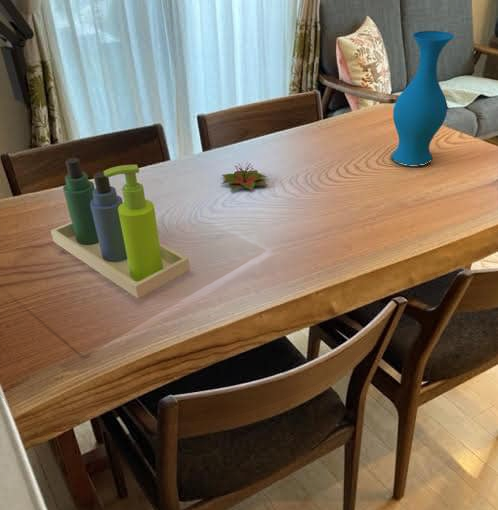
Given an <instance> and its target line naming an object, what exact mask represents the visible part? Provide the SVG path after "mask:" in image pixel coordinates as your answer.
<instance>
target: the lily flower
mask: <svg viewBox="0 0 498 510" xmlns="http://www.w3.org/2000/svg"><path fill="white" fill-rule="evenodd" d="M243 163H244V162H241V164H242V165H244V164H243ZM237 164H238V166H239V167H238V166H237V165H234V167H235V169H236V171H234V172H233V173H226V174H221V176H222V177H223V178H224V180H223V182H221V183H220V185H225V184H230V185H229V187H230V191H231V192H234V191H236V190H240V189H242V188H246V189H248V190H250V191H251V192H253V190H254V187H256V186H269V184H268V183H267V182H266V181H265V180H263V178H264V179H265V178H267V176H266V175H264V174H262V173H260V172H259V171H258V169H254V166H253V165H252V163H249V164H248V162H246V164H245V166H246V167H245V168H243V167H242V165H241V164H240V163H237ZM251 165H252V166H251ZM249 169H250V170H249Z"/></svg>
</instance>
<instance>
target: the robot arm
mask: <svg viewBox="0 0 498 510" xmlns="http://www.w3.org/2000/svg"><path fill="white" fill-rule="evenodd" d="M0 14H1V16H3V18H4V20H5V21H6V23H8V25H9V26H10V27H8V26H7V25H6V24H5V23H4V22H3V21H1V20H0V40H1V41H3V42H4V43H5V44H6V45H3V46H0V52H1V55H2V59H3V62H4V67H5V69H6V72H7V76H8V79H9V83H10V86H11V90H12V93H13V97H14V100H15V101H16V102H19V103H22V104H24V105H27V104H31V99H30V97H29V92H28V90H27V85H26V82H25V78H24V75H25V74H28V69H29V68H28V65H27V61H26V57H25V54H24V50H23V49H24V48H25V47H26V42H27V41H28V40H32V39H33V38H34V36H35V33H34V30H33V29H32V28H31V26H30V24H28V22H27V20H26V19H25V18H24V16H23V15H22V14H21V13H20V11H19V10H18V9H17V7H16V5H15V4H14V2H13V1H12V0H0ZM10 28H12V29H10Z"/></svg>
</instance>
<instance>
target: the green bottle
mask: <svg viewBox="0 0 498 510" xmlns="http://www.w3.org/2000/svg"><path fill="white" fill-rule="evenodd" d="M80 161H81V160H80V158H78V157H70V158H67V159H66V160H65V165H66V169H67V173H68V174H66V175H65V177H64V180H65V185H63V188H62V190H63V194H64V197H65V202H66V206H67V209H68V212H69V217H70V220H71V221H70V222H72V225H73V229H74V232H75V236H76V240H77V242H78V243H79V244H82V245H93V244H96V243H99V240H98V236H97V232H96V227H95V223H94V219H93V214H92V210H91V206H90V202H91V200H92V199H94V198H93V193H92V192H93V190H94V189H96V186H95V182H93V181H91V180H89V177H88V174H87V172H85V171H83V170H82V166H81V162H80Z"/></svg>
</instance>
